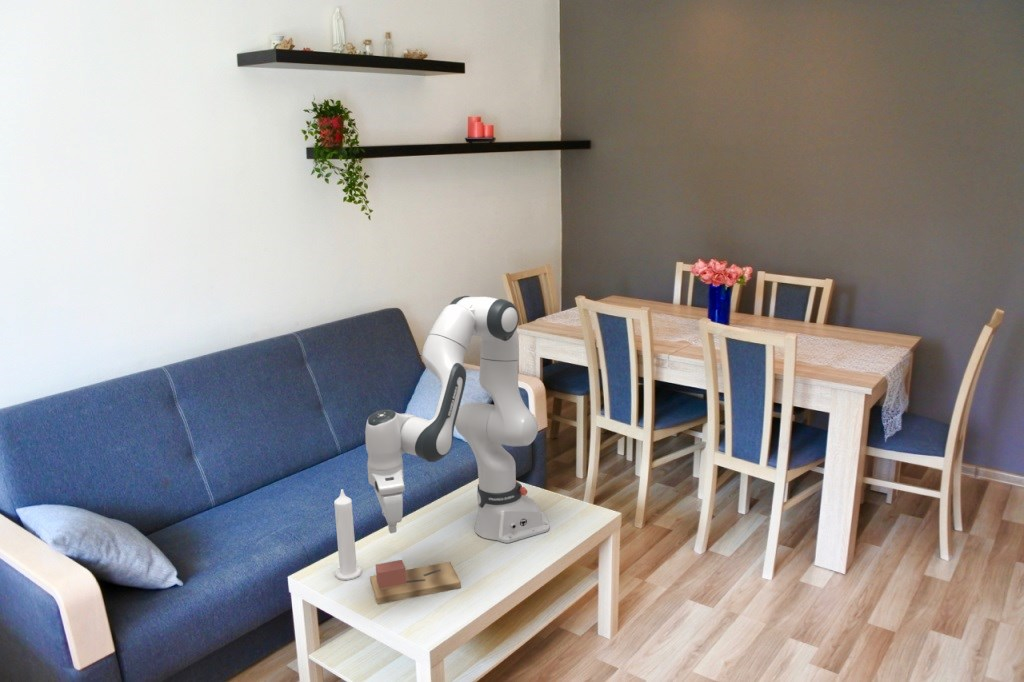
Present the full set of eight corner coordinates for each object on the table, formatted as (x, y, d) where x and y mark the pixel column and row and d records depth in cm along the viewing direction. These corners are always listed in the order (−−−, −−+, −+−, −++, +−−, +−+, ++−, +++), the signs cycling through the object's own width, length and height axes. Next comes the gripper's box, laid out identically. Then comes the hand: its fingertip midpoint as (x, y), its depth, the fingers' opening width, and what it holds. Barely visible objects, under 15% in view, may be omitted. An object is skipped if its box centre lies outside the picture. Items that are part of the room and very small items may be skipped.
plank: (450, 567, 223) (450, 561, 223) (460, 587, 213) (460, 581, 213) (370, 582, 217) (370, 576, 216) (377, 604, 207) (376, 597, 206)
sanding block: (403, 576, 216) (402, 559, 215) (406, 585, 212) (405, 568, 210) (376, 581, 214) (375, 564, 213) (379, 590, 210) (378, 573, 208)
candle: (357, 564, 226) (350, 481, 220) (365, 576, 220) (359, 491, 214) (332, 571, 223) (325, 487, 216) (339, 583, 217) (332, 497, 210)
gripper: (367, 460, 214) (370, 507, 217) (380, 492, 195) (383, 544, 199) (390, 456, 216) (394, 504, 219) (405, 488, 197) (409, 539, 201)
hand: (389, 523), depth 209 cm, fingers open, 8 cm apart
